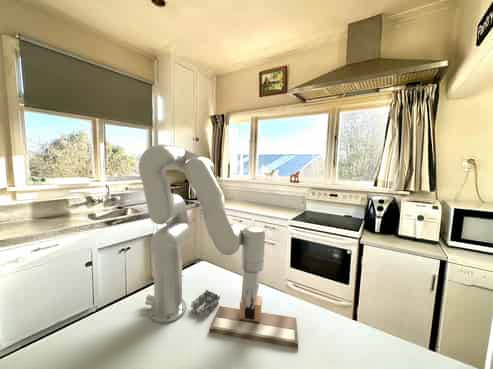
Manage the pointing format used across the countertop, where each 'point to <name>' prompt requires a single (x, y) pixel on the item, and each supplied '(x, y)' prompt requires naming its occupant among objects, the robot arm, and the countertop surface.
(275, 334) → the board
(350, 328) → the countertop surface
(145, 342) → the countertop surface
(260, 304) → the peach rectangular block
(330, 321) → the countertop surface
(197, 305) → the egg carton
